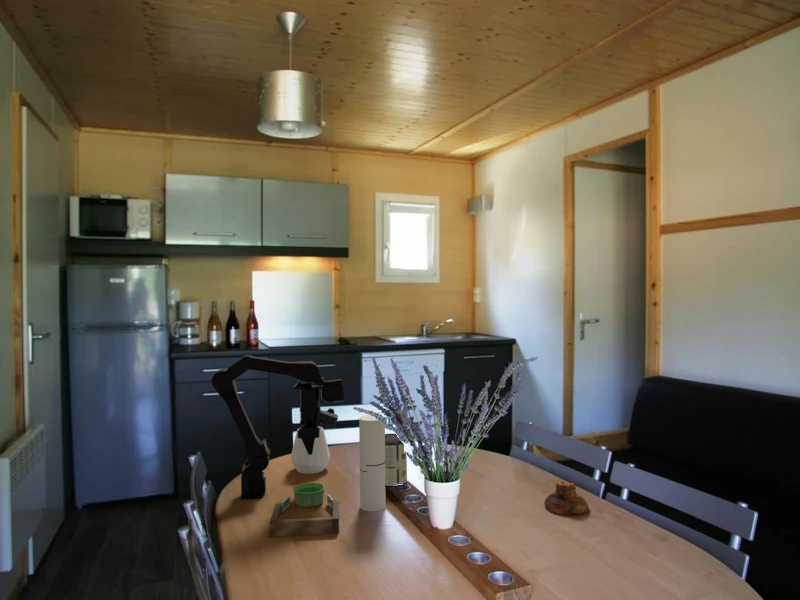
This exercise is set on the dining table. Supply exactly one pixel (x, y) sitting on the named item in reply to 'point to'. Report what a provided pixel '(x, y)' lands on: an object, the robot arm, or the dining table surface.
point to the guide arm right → (330, 501)
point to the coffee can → (395, 460)
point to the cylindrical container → (372, 464)
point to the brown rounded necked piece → (566, 501)
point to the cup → (310, 462)
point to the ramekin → (308, 494)
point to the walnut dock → (303, 523)
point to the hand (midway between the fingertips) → (310, 454)
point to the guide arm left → (285, 504)
